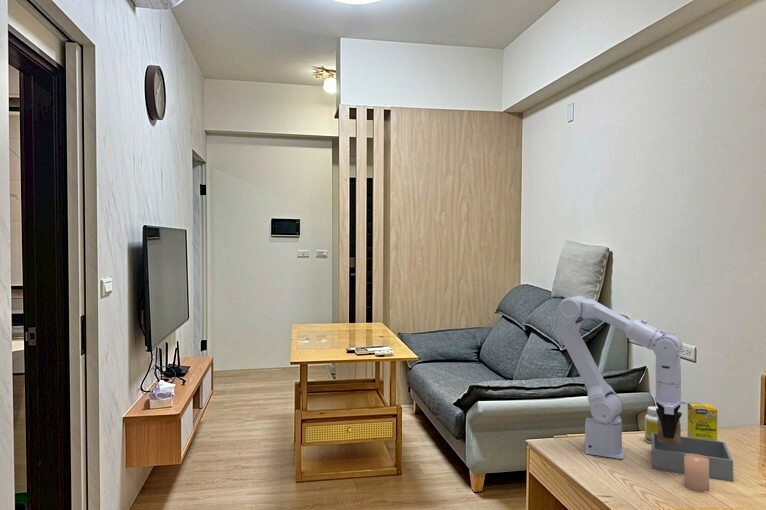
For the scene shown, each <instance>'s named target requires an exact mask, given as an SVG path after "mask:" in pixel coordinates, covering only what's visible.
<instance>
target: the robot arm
mask: <svg viewBox="0 0 766 510" xmlns="http://www.w3.org/2000/svg"><path fill="white" fill-rule="evenodd" d="M555 312H556V315H557V333H558V336H559V337H560V339H561V341H562V343H563V345H564V346H565V350H566V351H567V353H568V355H569V356H570V358H571V361H572V362H573V364H574V367H575V368H576V370H577V372H578V375H579V376H580V378H581V379H582V382H583V384H584V386H585V387H586V390H587V401H588V403H589V405H590V406H589V408H590V414H591V415H592V417H585V422H584V430H585V431H584V445H585V447H584V449H585V451H584V454H586V455H593V456H598V457H605V458H611V459H618V460H623V459H624V454H625V453H624V452H625V448H624V447H623V429H622V428H623V422H622V420H623V419H622V418H621V415H620V414H621V413H622V412H623V410H624V407H625V406H624V405H625V404H624V400H623V399H622V397H621V396H620V395H619V394H618V393H617V392H615V390H614V389H613V387H612V386H611V385H610V384H608V383H607V382H606V381H605V379H604V376H603V374H602V373H601V371H600V369H599V367H598V365H597V363H596V362H595V360H594V357H593V356H592V353H591V352H590V350H589V349H588V347H587V345H586V342H585V341H584V339H583V336H582V334H581V333H580V328H581V326H582V323H583V321H584V320H585V319H591V318H594V319H595V318H596V319H598V320H600V321H603V322H605V323H607V324H608V325H611V326H613V327H615V328H617V329H619V330H622V331H623V332H624V333H625V336H626V338H628V339H629V340H631V341H633V342H635V343H637V344H638V345H641V346H642V347H645V348H646V349H648V350H649V351H651V350H652V351H653V353H654V355H655V397H654V401H655V405H656V407H658V408H656V412H657V415H658V416H659V418H660V421H661V425H662V430H663V435H664V438H670V439H674V436H675V431H676V426H677V423H678V421H679V419H681V417H682V415H683V413H682V412H680V411H679V410H680V408H681V405H686V404H687V399H683V398H682V385H681V384H682V370H681V369H682V365H681V355H680V353H681V352H682V350H683V342H682V340H681V338H679V337H678V336H677V335H676V334H674V333H671V332H667V331H666V330H665V329H659V328H657V327H655V326H652V325H651V324H648V320H646V319H644V318H643V319H638V318H635V319H632V320H630V319H629V318H627V317H625V316H623V315H622V314H620V313H618V312H616V311H614V310H612V309H610V308H609V307H607V306H605V305H604V304H602V303H600V302H598V301H596V300H595V299H592V298H588V297H587V296H585V295H582V294H576V295H575V296H570V297H566V298H563V299H562V300H561V301H560V302H559V304H558V306H557V309H556V310H555ZM666 332H667V333H666Z"/></svg>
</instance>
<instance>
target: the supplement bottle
mask: <svg viewBox="0 0 766 510" xmlns="http://www.w3.org/2000/svg"><path fill="white" fill-rule="evenodd" d="M656 408H658V407H657V406H653V405H652V406H651V405H650V406H648V407H647V413H646V415H644V440H645V441H646V443H649V444H651V445H652V439H651V432H652V433H658V417H659V416H658V415H657V412H656Z"/></svg>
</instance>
